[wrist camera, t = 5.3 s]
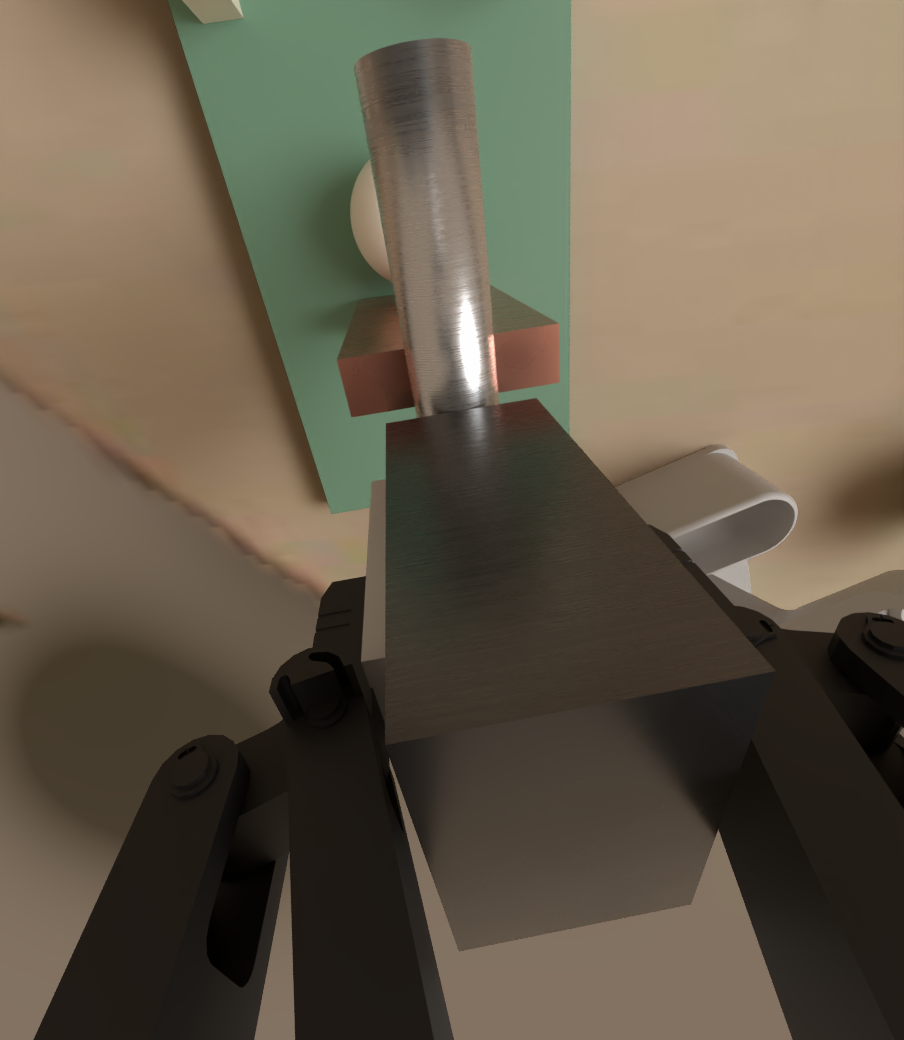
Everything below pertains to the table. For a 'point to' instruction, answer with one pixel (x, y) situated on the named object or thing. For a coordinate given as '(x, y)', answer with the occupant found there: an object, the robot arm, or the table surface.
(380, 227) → the ball
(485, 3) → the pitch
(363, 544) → the table surface
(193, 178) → the table surface
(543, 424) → the multicoloured piece
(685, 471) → the phone holder
